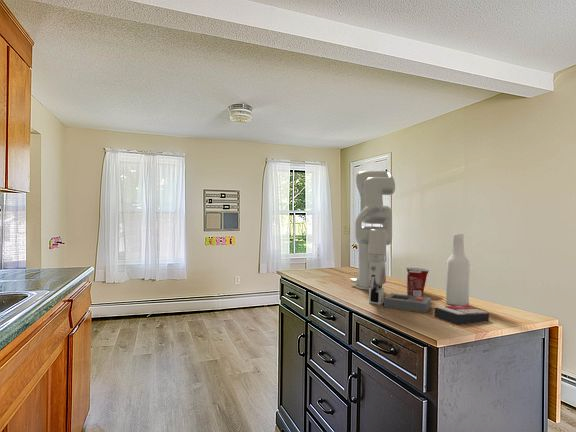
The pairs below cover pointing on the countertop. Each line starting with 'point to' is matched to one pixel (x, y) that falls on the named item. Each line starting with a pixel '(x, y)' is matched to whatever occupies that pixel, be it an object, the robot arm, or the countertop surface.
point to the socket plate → (407, 302)
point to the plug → (380, 295)
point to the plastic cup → (423, 271)
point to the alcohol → (457, 274)
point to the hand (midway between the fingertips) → (376, 299)
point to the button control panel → (461, 314)
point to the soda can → (415, 283)
